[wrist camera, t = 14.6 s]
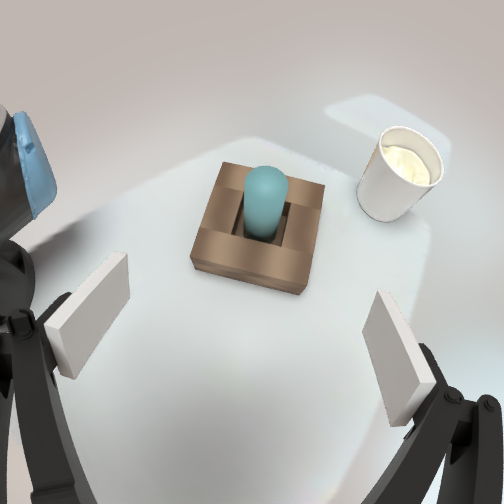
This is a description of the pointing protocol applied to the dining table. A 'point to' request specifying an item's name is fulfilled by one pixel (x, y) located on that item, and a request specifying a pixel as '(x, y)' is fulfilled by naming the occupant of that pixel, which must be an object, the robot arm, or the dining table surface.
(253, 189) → the teal peg
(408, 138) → the candle holder
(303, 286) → the walnut block
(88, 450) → the dining table surface
